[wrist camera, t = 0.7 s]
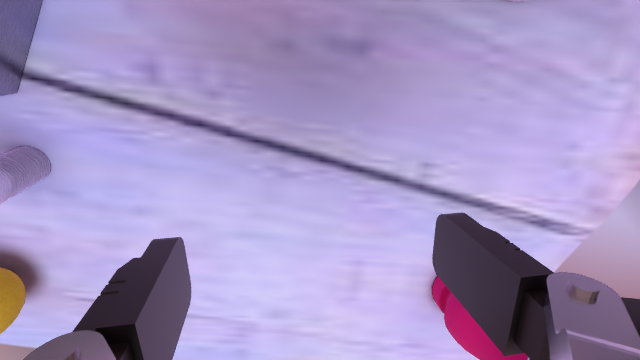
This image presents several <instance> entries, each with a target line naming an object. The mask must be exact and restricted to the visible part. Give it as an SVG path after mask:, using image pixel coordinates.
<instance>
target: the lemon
mask: <svg viewBox="0 0 640 360" xmlns="http://www.w3.org/2000/svg"><path fill="white" fill-rule="evenodd" d="M25 295H26V291H25V286H24V283H23V282H22V280H21V279H20V277H19V276H17V275H16V274H15V273H13V272H12V271H10V270H7V269H5V268H0V334H1V333H2V332H3V331H4V330H6V329H7V328H8V327H9V326H10V325H11V324H12V323H13V321H14V320H15V319H16V318H17V316H18V314H19V313H20V311H21V309H22V307H23V305H24V302H25Z"/></svg>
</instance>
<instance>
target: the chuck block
mask: <svg viewBox="0 0 640 360" xmlns="http://www.w3.org/2000/svg"><path fill="white" fill-rule="evenodd" d="M42 1H43V0H0V96H3V95H8V94H13V93H17V91H18V87H19V84H20V80H21V76H22V73H23V69H24V66H25V62H26V58H27V55H28V51H29V47H30V44H31V40H32V37H33V33H34V29H35V26H36V22H37V19H38V15H39V11H40V8H41V4H42Z"/></svg>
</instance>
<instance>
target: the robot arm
mask: <svg viewBox="0 0 640 360" xmlns="http://www.w3.org/2000/svg"><path fill="white" fill-rule="evenodd" d="M508 1H528V0H508ZM433 266H434V269H435V272H436V274H437V275H438V277H439V278H440V279H441V280H442V282H443V283H444V284H445V285H446V286H447V288H448V289H449V290H450V291H451V292H452V294H453V295H454V296H455V297H456V298H457V300H458V301H459V302H460V303H461V305H462V306H463V307H464V308H465V309H466V311H467V312H468V313H469V314H470V315H471V317H472V318H473V319H474V320H475V321H476V323H477V324H478V325H479V326H480V327H481V329H482V330H483V331H484V332H485V333H486V335H487V336H488V337H489V338H490V339H491V341H492V342H493V343H494V344H495V345H496V347H497V348H498V349H499V350H500V351H501V353H502V354H503V355H504V356H509V355H515V354H522V353H525V354H526V355H527V357H528V359H527V360H640V299H632V298H621V297H620V296H619V295H618V294H617V293H616V292H615V291H614V290H613V289H611V288H610V287H608V286H607V285H605V284H603V283H601V282H599V281H597V280H595V279H592V278H589V277H586V276H583V275H579V274H575V273H567V272H558V273H554V272H552V271H551V270H549V269H548V268H547V267H545V266H544V265H542V264H541V263H540V262H538V261H537V260H535V259H534V258H533V257H531V256H530V255H528V254H527V253H525V252H524V251H523V250H521V251H520V248H518V247H517V246H516V245H514V244H513V243H510V241H509V240H507V239H506V238H504V237H503V236H501V235H500V234H499V233H497V232H495V231H493V230H490V229H488V228H485V227H483V226H482V225H480V224H479V223H478V222H476V221H475V220H474V219H472V218H471V217H469V216H468V215H467V214H465V213H452V214H441V215H439V216H438V218H437V221H436V228H435V238H434V248H433ZM190 300H191V281H190V275H189V269H188V264H187V258H186V252H185V246H184V242H183V239H182V238H181V237H176V238H164V239H154V240H152V241H151V243H150V244H149V246H148V248H147V249H146V251H145V252H144V254H143V255H142V257H141V258H133V259H132V260H130V261H129V262H128V263H126V264H125V265H123V266H122V267H121V268H119V269H118V270H117V271H116V273H115V274H114V275H113V277H112V278H111V280H110V281H109V284H108V285H106V286H105V288H104V289H103V291H102V292H101V296H98V297H97V299H96V300H95V302H94V303H93V304H92V306H91V307H90V308H89V310H88V311H87V313H86V314H85V315H84V317H83V318H82V319H81V321H80V322H79V324H78V325H77V326H76V328H75V329H74V330H73V332H72V333H68V334H65V335H62V336H59V337H57V338H55V339H53V340H51V341H49V342H47V343H45V344H43V345H42V346H40V347H38V348H37V349H35V350H34V351H33V352H31V353H30V354H29V355H28V356H27V357H25V358H24V359H23V360H172V359H173V356H174V352H175V349H176V346H177V343H178V340H179V337H180V333H181V330H182V327H183V324H184V321H185V318H186V314H187V311H188V308H189V305H190Z"/></svg>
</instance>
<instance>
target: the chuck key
mask: <svg viewBox="0 0 640 360" xmlns="http://www.w3.org/2000/svg"><path fill="white" fill-rule="evenodd" d="M50 170H51V164H50V161H49V159H48V158H47V156H46V155H45V154H44V153H43V152H41V151H40V150H38V149H36V148H33V147H29V146H21V147H18V148H15V149H13V150H10V151H8V152H5V153H3V154H0V204H2V203H3V202H5V201H7V200H8V199H10V198H12V197H13V196H15V195H17V194H18V193H20V192H22V191H23V190H25V189H27V188H29V187H30V186H32V185H34V184H35V183H37V182H39V181H40V180H42V179H44V178H45V177H47V176H48V175H49V173H50Z"/></svg>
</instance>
